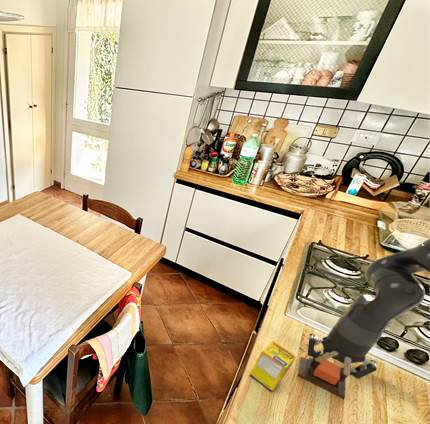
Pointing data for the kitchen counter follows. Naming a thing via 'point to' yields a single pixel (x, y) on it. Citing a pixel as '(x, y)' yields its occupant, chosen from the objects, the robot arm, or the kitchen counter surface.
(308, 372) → the back plate
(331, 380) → the orange-red small block
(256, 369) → the supplement box
